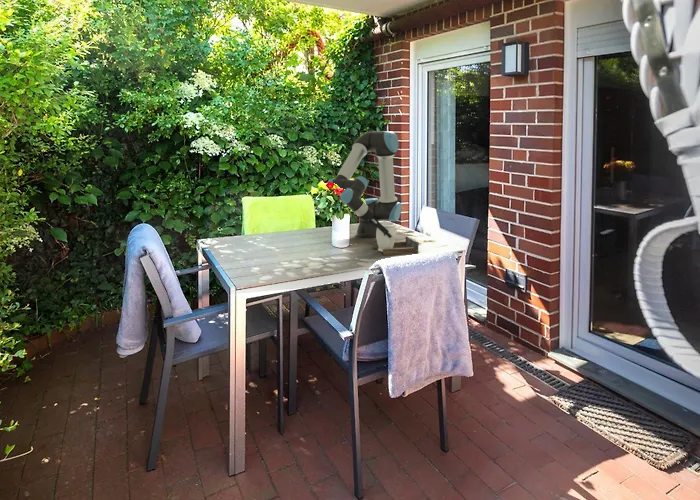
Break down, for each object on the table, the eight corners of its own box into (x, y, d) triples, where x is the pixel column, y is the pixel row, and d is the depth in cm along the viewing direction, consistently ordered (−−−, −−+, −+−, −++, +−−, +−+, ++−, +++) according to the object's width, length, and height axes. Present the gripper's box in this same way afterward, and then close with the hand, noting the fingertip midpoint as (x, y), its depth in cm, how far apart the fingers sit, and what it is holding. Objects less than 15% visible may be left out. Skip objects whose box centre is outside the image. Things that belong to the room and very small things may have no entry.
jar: (393, 248, 292) (394, 222, 288) (396, 252, 282) (397, 225, 278) (375, 248, 291) (375, 222, 288) (377, 253, 281) (377, 225, 278)
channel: (374, 248, 293) (374, 238, 292) (407, 246, 298) (407, 236, 297) (383, 255, 278) (383, 244, 276) (418, 252, 283) (418, 242, 281)
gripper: (353, 213, 289) (380, 239, 296) (364, 220, 267) (393, 248, 275) (362, 203, 289) (388, 229, 296) (374, 210, 267) (402, 238, 275)
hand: (391, 238), depth 286 cm, fingers closed on jar, 10 cm apart
